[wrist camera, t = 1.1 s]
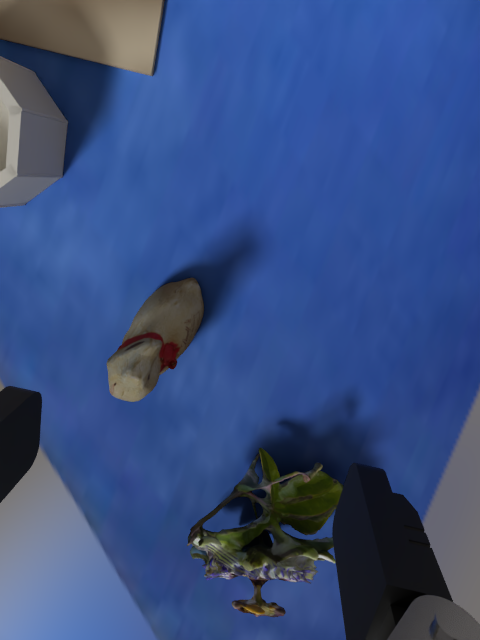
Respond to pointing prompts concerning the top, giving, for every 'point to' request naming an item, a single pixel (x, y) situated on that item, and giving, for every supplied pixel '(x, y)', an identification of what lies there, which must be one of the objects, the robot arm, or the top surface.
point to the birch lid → (88, 29)
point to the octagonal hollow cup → (28, 136)
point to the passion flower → (254, 541)
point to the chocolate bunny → (156, 339)
